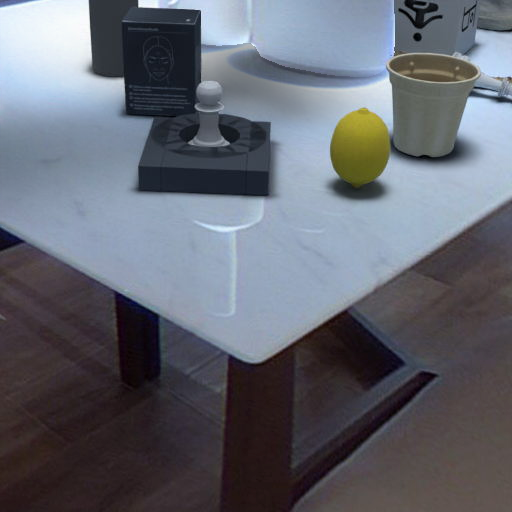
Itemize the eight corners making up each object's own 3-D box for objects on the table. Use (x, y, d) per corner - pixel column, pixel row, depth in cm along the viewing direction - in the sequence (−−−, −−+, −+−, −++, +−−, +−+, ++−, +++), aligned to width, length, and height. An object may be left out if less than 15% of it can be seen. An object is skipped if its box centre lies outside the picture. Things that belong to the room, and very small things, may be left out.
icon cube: (485, -30, 126) (474, 44, 131) (412, -40, 130) (404, 32, 135) (463, -13, 118) (452, 65, 123) (387, -25, 122) (379, 51, 127)
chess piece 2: (442, 93, 116) (522, 120, 113) (441, 77, 112) (525, 105, 109) (455, 61, 116) (535, 87, 114) (456, 45, 112) (539, 71, 109)
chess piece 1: (235, 166, 94) (236, 89, 90) (187, 168, 94) (186, 90, 90) (229, 147, 98) (230, 72, 94) (183, 148, 98) (182, 73, 94)
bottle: (83, 67, 118) (75, -58, 110) (121, 58, 121) (117, -64, 114) (110, 80, 114) (104, -49, 107) (150, 70, 118) (146, -55, 110)
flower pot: (394, 122, 105) (403, 46, 101) (478, 140, 102) (491, 61, 98) (364, 153, 98) (372, 72, 94) (454, 172, 95) (466, 89, 90)
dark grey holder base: (138, 190, 89) (138, 165, 88) (156, 133, 101) (155, 110, 100) (267, 195, 89) (268, 171, 88) (270, 137, 101) (271, 115, 100)
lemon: (350, 205, 88) (358, 123, 84) (315, 182, 92) (321, 103, 88) (397, 192, 90) (407, 112, 86) (361, 170, 94) (369, 93, 90)
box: (201, 100, 109) (202, 8, 104) (195, 118, 105) (195, 23, 99) (133, 96, 110) (130, 4, 105) (124, 114, 105) (120, 19, 100)
